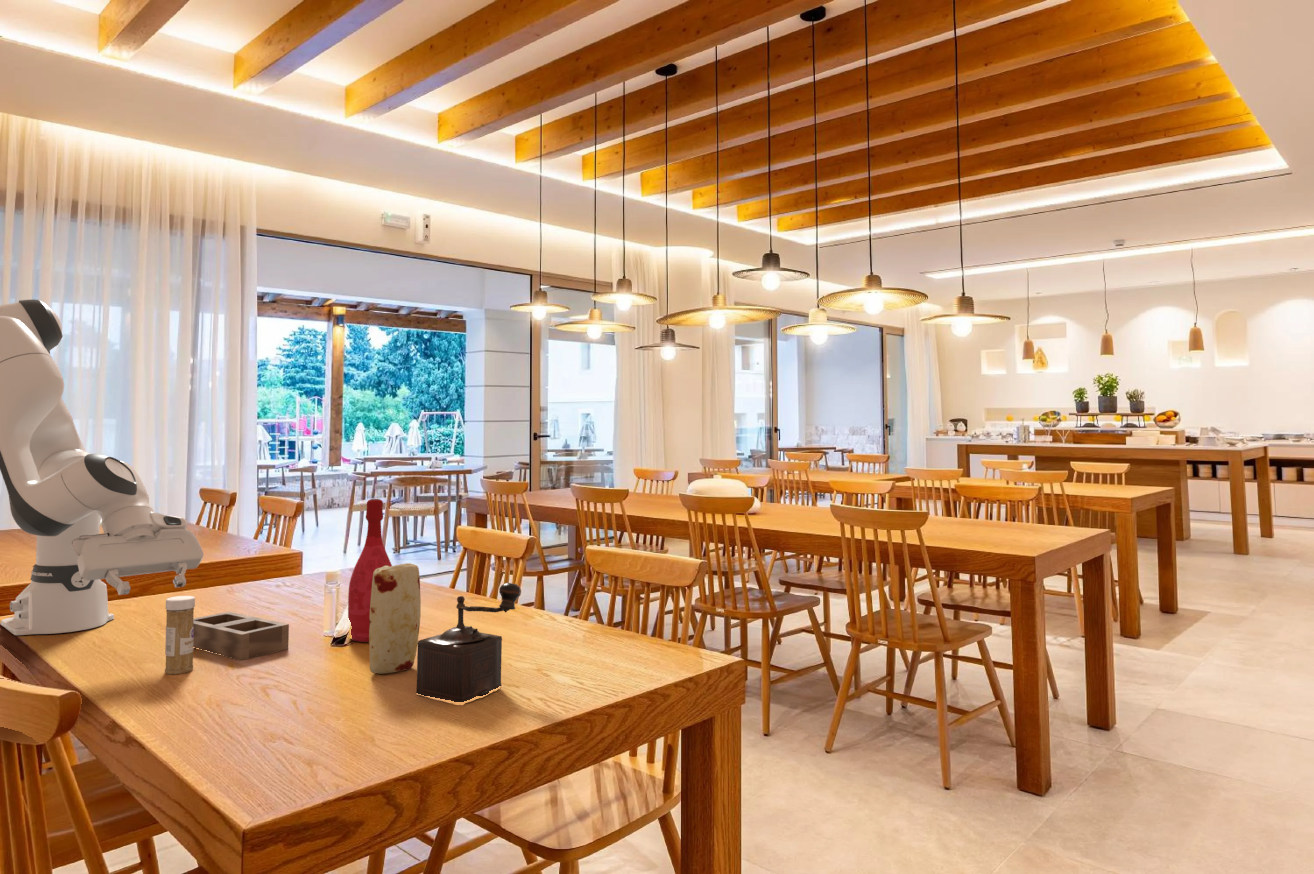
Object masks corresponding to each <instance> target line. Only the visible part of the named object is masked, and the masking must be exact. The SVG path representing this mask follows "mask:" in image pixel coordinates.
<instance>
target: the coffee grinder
mask: <svg viewBox="0 0 1314 874" xmlns="http://www.w3.org/2000/svg"><path fill="white" fill-rule="evenodd" d="M499 594H500V596H501V603H500V604H499V605H498V607H493V606H492V607H487V606H473V605H472V606H467V605H465V603H464V602H465V600H466V598H465V596H462V595H458V596H457V599H456V602H457V604H456V609H457V610H458V611H457V613H458V614H457V616H458V617H457V618H458V619H457V625H456V626H454V627H451V628H449V629H447V630H444V632H442V633H441V634H437V635H434V636H429V637H425V638H423V639H420V640H419V639H418V644H417V652H416V655H417V656H416V657H417V658H416V662H417V663H416V692H415V694H416V693H418V694H421V695H424V696H430V697H435V698H440V699H445V700H451V701H454V702H464V701H467V700H470V699H472V698H474V697H476V696H483V695H486V694H488V693H489V691H491V690H493V689H496V688H498V687H499V686H502V654H503V653H502V652H503V651H502V649H503V648H502V647H503V645H502V643H503V637H502V636H501V635H497V634H492V633H491V634H490V633H485V632H480V631H479V630H478V628H474V627H473V626H471V625H470V626H468V625H465V623H464V611H466V612H483V613H485V612H486V613H499V612H504V613H508V611H510V610H514V611H515V610H516V606H515V605H516V604H515V603H516V601H517V600H518V599H519V597H520V596H521V594H522V589H521V587H520V585H518V584H516V583H512V582H506V583H503V584H501V585H500V587H499ZM502 687H503V686H502Z"/></svg>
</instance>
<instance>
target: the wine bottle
mask: <svg viewBox="0 0 1314 874" xmlns="http://www.w3.org/2000/svg"><path fill="white" fill-rule="evenodd" d="M383 506H384V502H383V500H382V499H380V498H371V499H368V500H367V501H366V514H365V519H366V521H367V533H366V537H365V542H364V546H363V547H362V548H363V549H362V550H361V553H360V555H359V557H358V559H357V562H356V563H355V565H354V567H353V570H352V573H351V576H350V580H349V583H348V598H347V617H348V618H349V620H350V622H351V626H352V629H351V635H352V639H353V640H352V639H351V640H352V641H354V642H358V643H369V628H370V624H369V618H370V603H371V591H372V580H373V573H374V571H375V570H376V569H378V568H381V567H383V566H389V567H391V566H393V564H392V562H391V559H390V558H389V555H388V552H387V551H386V548H385V545H384V542H383V541H384V540H383V535H382V520H383V519H384V512H383V510H384V509H383ZM348 618H347V619H348Z"/></svg>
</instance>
